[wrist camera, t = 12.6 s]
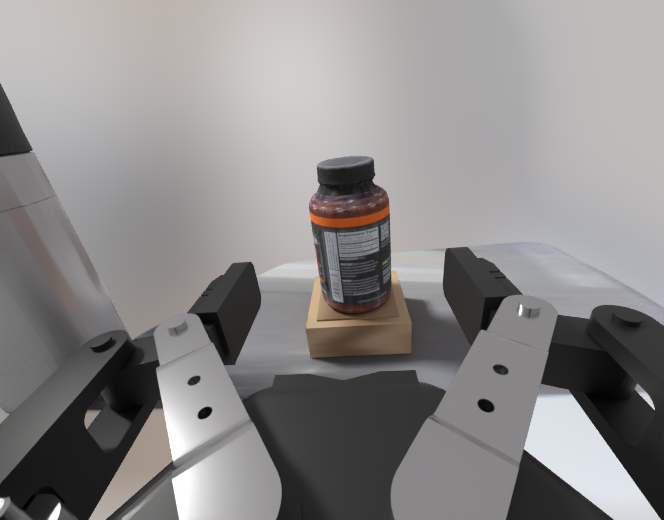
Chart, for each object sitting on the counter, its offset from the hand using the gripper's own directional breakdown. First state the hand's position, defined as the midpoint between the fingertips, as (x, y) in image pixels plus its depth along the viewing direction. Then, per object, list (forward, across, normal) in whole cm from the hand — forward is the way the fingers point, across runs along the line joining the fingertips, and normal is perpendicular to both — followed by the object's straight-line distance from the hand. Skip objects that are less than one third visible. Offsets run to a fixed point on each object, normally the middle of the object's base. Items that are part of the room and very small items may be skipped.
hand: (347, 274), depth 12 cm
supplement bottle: (+11, 0, +8) cm, 14 cm away
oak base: (+11, 0, +11) cm, 16 cm away
